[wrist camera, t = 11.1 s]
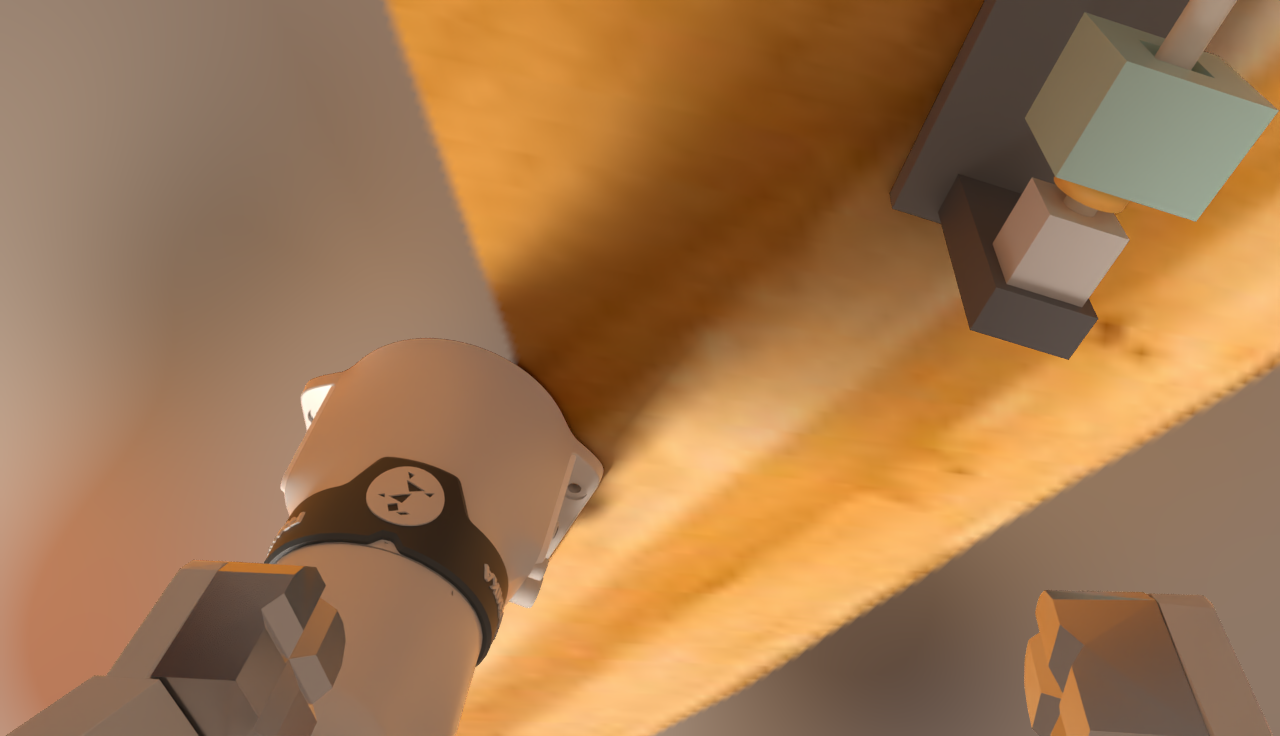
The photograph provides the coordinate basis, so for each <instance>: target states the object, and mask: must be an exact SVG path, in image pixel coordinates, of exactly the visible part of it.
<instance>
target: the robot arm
mask: <svg viewBox="0 0 1280 736" xmlns="http://www.w3.org/2000/svg"><path fill="white" fill-rule="evenodd" d="M301 405H302V410H303V415H304V419H305V424H306V429H307V432H306V434H305V436H304V438H303V440H302V442H301V444H300V445H299V447H298V450H297V451H296V453H295V455H294V457H293V459H292V461H291V463H290V465H289V467H288V468H287V470H286V472H285V474H284V476H283V479H282V482H281V490H282V491H283V492H284V493H285V503H286V507H287V510H288V512H289V515H290V517H289V519H288V520H287V522H286V523H285V524H284V526H283V527H282V528H281V529H280V530H279V532H278V533H277V535H276V537H275V539H274V541H273V542H272V544H271V546H270V548H269V551H268V554H267V559H266V560H265V562H264V564H262V563H246V562H230V561H207V560H192V561H191V562H189V563H188V564H186V565H185V566H183V567H182V568H180V569H179V570H178V572H177V573H176V575H175V576H174V578H173V579H172V580H171V582H170V583H169V585H168V586H167V588H166V589H165V591H164V592H163V593H162V595H161V597H160V598H159V599H158V601H157V602H156V604H155V605H154V607H153V608H152V610H151V611H150V612H149V614H148V615H147V617H146V618H145V620H144V621H143V623H142V624H141V626H140V627H139V628H138V630H137V631H136V633H135V634H134V636H133V637H132V639H131V640H130V641H129V643H128V644H127V646H126V647H125V649H124V650H123V652H122V653H121V655H120V656H119V658H118V659H117V661H116V662H115V664H114V665H113V666H112V668H111V669H110V671H109V672H108V673H107V675H106V676H101V675H100V676H99V675H94V676H93V677H91V678H90V679H88V680H87V681H85V682H84V683H82V684H81V685H80V686H78V687H77V688H75V689H74V690H72V691H71V692H69V693H68V694H66V695H65V696H63V697H62V698H60V699H59V700H57V701H56V702H54V703H53V704H52V705H50V706H49V707H47V708H46V709H44V710H43V711H41V712H40V713H38V714H37V715H35V716H34V717H32V718H31V719H29V720H28V721H27V722H25V723H24V724H22V725H21V726H19V727H18V728H16V729H15V730H13V731H12V732H10V733H9V734H7V735H6V736H456V733H457V729H458V725H459V722H460V718H461V714H462V711H463V707H464V704H465V700H466V697H467V694H468V690H469V687H470V683H471V680H472V677H473V673H474V670H475V667H476V666H478V665H479V664H480V663H481V662H482V660H483V659H484V658H485V656H486V655H487V653H488V650H489V648H490V646H491V644H492V642H493V640H494V639H495V637H496V634H497V632H498V629H499V627H500V624H501V621H502V617H503V613H504V612H503V610H504V607H505V606H506V604H507V603H508V602H512V603H515V604H517V605H520V606H522V607H525V608H528V607H529V608H531V607H532V605H533V604H534V602H535V600H536V598H537V595H538V593H539V590H540V587H541V584H542V581H543V576H544V573H545V571H546V568H547V566H548V562H549V560H548V559H549V557H550V556H551V554H552V553H553V552H554V550H555V549H556V547H557V546H558V544H559V543H560V541H561V540H562V538H563V537H564V536H565V534H566V533H567V531H568V530H569V528H570V527H571V525H572V524H573V522H574V521H575V519H576V518H577V517H578V515H579V514H580V512H581V511H582V509H583V508H584V506H585V505H586V503H587V502H588V500H589V499H590V498H591V496H592V495H593V493H594V492H595V490H596V489H597V487H598V485H599V483H600V481H601V478H602V476H603V472H604V469H603V466H602V464H601V463H600V461H599V460H598V459H597V458H596V457H595V456H594V455H593V454H592V453H591V452H590V451H589V450H588V449H587V448H586V447H585V446H584V445H583V444H581V443H580V442H579V441H578V440H577V439H576V438H575V437H574V435H573V434H572V432H571V431H570V429H569V427H568V425H567V423H566V421H565V419H564V417H563V415H562V413H561V411H560V409H559V407H558V406H557V404H556V403H555V401H554V400H553V398H552V397H551V396H550V395H549V393H548V392H547V391H546V390H545V389H544V388H543V387H542V386H541V385H540V384H539V383H538V382H537V381H536V380H535V379H534V378H533V377H532V376H530V375H529V374H528V373H527V372H525V371H524V370H523V369H521V368H520V367H518V366H517V365H515V364H514V363H512V362H510V361H509V360H507V359H505V358H503V357H501V356H499V355H497V354H495V353H493V352H490V351H488V350H486V349H483V348H480V347H477V346H474V345H471V344H467V343H463V342H458V341H454V340H447V339H436V338H418V339H409V340H403V341H399V342H394V343H391V344H388V345H385V346H383V347H381V348H378V349H376V350H375V351H373V352H371V353H370V354H368V355H367V356H365V357H364V358H363V359H361V360H360V361H359V362H358V363H357V364H355V365H354V366H352V367H351V368H349V369H347V370H345V371H344V372H338V373H333V374H328V375H323V376H319V377H316V378H314V379H312V380H310V381H309V382H308V383H307V384H306V386H305V388H304V390H303V392H302V394H301ZM573 483H575V484H578V485H575V484H573ZM1035 614H1036V619H1037V622H1038V626H1039V631H1040V632H1039V633H1038V634H1036V635H1035V636H1034V637H1032V638H1030V639H1029V640H1028V646H1027V651H1026V656H1025V679H1024V680H1025V681H1024V682H1025V683H1024V685H1025V693H1026V701H1027V707H1028V712H1029V716H1030V721H1031V726H1032V729H1033V730H1034V731H1035V732H1036V733H1037V734H1038V735H1039V736H1273V734H1272V732H1271V730H1270V728H1269V725H1268V723H1267V721H1266V719H1265V717H1264V715H1263V712H1262V710H1261V708H1260V706H1259V704H1258V702H1257V699H1256V697H1255V695H1254V693H1253V691H1252V688H1251V687H1250V684H1249V683H1248V680H1247V678H1246V676H1245V673H1244V671H1243V669H1242V667H1241V665H1240V662H1239V660H1238V658H1237V656H1236V654H1235V652H1234V649H1233V647H1232V645H1231V643H1230V641H1229V638H1228V636H1227V634H1226V632H1225V630H1224V628H1223V626H1222V623H1221V621H1220V619H1219V617H1218V615H1217V613H1216V610H1215V608H1214V606H1213V604H1212V603H1211V602H1210V601H1209V600H1208V599H1207V598H1206V597H1205V596H1203V595H1179V594H1178V595H1177V594H1145V593H1144V592H1108V591H1106V592H1105V591H1104V592H1103V591H1062V590H1059V591H1058V590H1044V592H1043V593H1042V594H1041V596H1040V597H1039V600H1038V603H1037V607H1036V611H1035Z"/></svg>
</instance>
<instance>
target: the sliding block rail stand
mask: <svg viewBox="0 0 1280 736" xmlns="http://www.w3.org/2000/svg"><path fill="white" fill-rule="evenodd" d="M1236 2H1237V0H985V1H984V3H983V5H982V7H981V9H980V11H979V13H978V15H977V17H976V19H975V21H974V23H973V25H972V27H971V30H970V32H969V34H968V36H967V38H966V40H965V42H964V44H963V46H962V48H961V50H960V52H959V54H958V56H957V58H956V60H955V62H954V64H953V66H952V68H951V70H950V72H949V74H948V76H947V78H946V80H945V82H944V84H943V86H942V88H941V90H940V92H939V94H938V96H937V99H936V101H935V103H934V105H933V107H932V109H931V111H930V113H929V115H928V117H927V119H926V121H925V123H924V125H923V127H922V129H921V131H920V133H919V135H918V137H917V139H916V141H915V143H914V145H913V147H912V149H911V151H910V153H909V155H908V157H907V159H906V161H905V163H904V165H903V168H902V170H901V172H900V174H899V176H898V178H897V180H896V182H895V184H894V186H893V188H892V190H891V192H890V199H891V204H892V209H895V210H898V211H902V212H905V213H908V214H911V215H914V216H918V217H921V218H924V219H927V220H931V221H934V222H937V223H940V224H941V225H942V229H943V233H944V236H945V240H946V244H947V247H948V251H949V255H950V258H951V262H952V266H953V269H954V273H955V277H956V280H957V284H958V288H959V291H960V295H961V299H962V302H963V306H964V310H965V313H966V317H967V321H968V324H969V328H970V330H972V331H976V332H979V333H982V334H986V335H989V336H992V337H995V338H999V339H1002V340H1005V341H1009V342H1012V343H1015V344H1018V345H1022V346H1025V347H1028V348H1032V349H1035V350H1038V351H1041V352H1045V353H1048V354H1051V355H1055V356H1058V357H1061V358H1064V359H1068V360H1069V358H1070V357H1071V356H1072V354H1073V353H1074V351H1075V350H1076V349H1077V347H1078V346H1079V345H1080V343H1081V342H1082V340H1083V339H1084V338H1085V336H1086V335H1087V334H1088V332H1089V331H1090V329H1091V328H1092V327H1093V325H1094V324H1095V323H1096V321H1097V320H1098V317H1097V315H1096V313H1095V311H1094V309H1093V307H1092V305H1091V302H1090V300H1089V297H1090V295H1091V294H1092V293H1093V291H1094V290H1095V288H1096V287H1097V286H1098V284H1099V283H1100V281H1101V280H1102V278H1103V277H1104V276H1105V274H1106V273H1107V271H1108V270H1109V269H1110V267H1111V266H1112V264H1113V263H1114V261H1115V260H1116V259H1117V257H1118V256H1119V254H1120V253H1121V251H1122V250H1123V249H1124V247H1125V246H1126V244H1127V243H1128V242H1129V238H1128V236H1127V235H1126V233H1125V231H1124V230H1123V228H1122V226H1121V225H1120V223H1119V221H1118V220H1117V218H1116V216H1115V215H1114V213H1120V212H1122V211H1123V210H1124V208H1125V207H1126V205H1127V204H1128V202H1129V200H1126V199H1123V198H1120V197H1117V196H1114V195H1110V194H1107V193H1104V192H1101V191H1098V190H1095V189H1091V188H1088V187H1085V186H1082V185H1079V184H1076V183H1073V182H1069V181H1066V180H1063V179H1060V178H1057V177H1055V175H1054V173H1053V171H1052V169H1051V167H1050V166H1049V164H1048V162H1047V160H1046V158H1045V156H1044V154H1043V152H1042V150H1041V148H1040V146H1039V145H1038V143H1037V141H1036V139H1035V137H1034V135H1033V133H1032V131H1031V129H1030V127H1029V125H1028V123H1027V122H1026V120H1025V117H1026V115H1027V113H1028V111H1029V110H1030V108H1031V106H1032V104H1033V103H1034V101H1035V99H1036V97H1037V96H1038V94H1039V92H1040V90H1041V88H1042V87H1043V85H1044V83H1045V81H1046V80H1047V78H1048V76H1049V74H1050V73H1051V71H1052V69H1053V67H1054V65H1055V64H1056V62H1057V60H1058V58H1059V57H1060V55H1061V53H1062V51H1063V49H1064V48H1065V46H1066V44H1067V42H1068V41H1069V39H1070V37H1071V35H1072V34H1073V32H1074V30H1075V28H1076V26H1077V25H1078V23H1079V21H1080V19H1081V18H1082V16H1083V14H1084V12H1086V13H1089V14H1092V15H1095V16H1098V17H1101V18H1104V19H1107V20H1110V21H1113V22H1117V23H1120V24H1123V25H1126V26H1129V27H1132V28H1135V29H1138V30H1141V31H1144V32H1147V33H1150V34H1153V35H1156V36H1159V37H1162V38H1165V40H1164V42H1163V43H1162V45H1161V46H1160V48H1159V50H1158V51H1157V53H1156V54H1155V56H1154V57H1155V58H1156V59H1157V60H1160V61H1164V62H1167V63H1170V64H1173V65H1176V66H1179V67H1182V68H1185V69H1188V70H1192V68H1193V67H1194V65H1195V64H1196V62H1197V61H1198V59H1199V58H1200V56H1201V55H1202V53H1203V52H1204V50H1205V49H1206V47H1207V46H1208V44H1209V43H1210V41H1211V40H1212V38H1213V37H1214V35H1215V33H1216V32H1217V30H1218V29H1219V27H1220V26H1221V24H1222V23H1223V21H1224V20H1225V18H1226V17H1227V15H1228V14H1229V12H1230V11H1231V9H1232V8H1233V6H1234V5H1235V3H1236Z"/></svg>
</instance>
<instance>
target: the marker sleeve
mask: <svg viewBox="0 0 1280 736" xmlns="http://www.w3.org/2000/svg"><path fill="white" fill-rule="evenodd" d="M1164 40H1165V38H1162V37H1159V36H1156V35H1153V34H1150V33H1147V32H1144V31H1141V30H1138V29H1135V28H1132V27H1129V26H1126V25H1123V24H1120V23H1117V22H1113V21H1110V20H1107V19H1104V18H1101V17H1098V16H1095V15H1092V14H1089V13H1086V12H1084V14H1083V16H1082V18H1081V19H1080V21H1079V23H1078V25H1077V26H1076V28H1075V30H1074V32H1073V34H1072V35H1071V37H1070V39H1069V41H1068V42H1067V44H1066V46H1065V48H1064V49H1063V51H1062V53H1061V55H1060V57H1059V58H1058V60H1057V62H1056V64H1055V65H1054V67H1053V69H1052V71H1051V73H1050V74H1049V76H1048V78H1047V80H1046V81H1045V83H1044V85H1043V87H1042V88H1041V90H1040V92H1039V94H1038V96H1037V97H1036V99H1035V101H1034V103H1033V104H1032V106H1031V108H1030V110H1029V111H1028V113H1027V115H1026V117H1025V120H1026V122H1027V123H1028V125H1029V127H1030V129H1031V131H1032V133H1033V135H1034V137H1035V139H1036V141H1037V143H1038V145H1039V146H1040V148H1041V150H1042V152H1043V154H1044V156H1045V158H1046V160H1047V162H1048V164H1049V166H1050V167H1051V169H1052V171H1053V173H1054V175H1055V177H1057V178H1060V179H1063V180H1066V181H1069V182H1073V183H1076V184H1079V185H1082V186H1085V187H1088V188H1091V189H1095V190H1098V191H1101V192H1104V193H1107V194H1110V195H1114V196H1117V197H1120V198H1123V199H1126V200H1129V201H1133V202H1136V203H1139V204H1142V205H1145V206H1148V207H1151V208H1155V209H1158V210H1161V211H1164V212H1167V213H1170V214H1174V215H1177V216H1180V217H1183V218H1186V219H1189V220H1192V221H1197V220H1198V218H1199V217H1200V215H1201V214H1202V213H1203V211H1204V210H1205V209H1206V207H1207V206H1208V205H1209V203H1210V202H1211V201H1212V199H1213V198H1214V197H1215V195H1216V194H1217V193H1218V191H1219V190H1220V189H1221V187H1222V186H1223V185H1224V183H1225V182H1226V181H1227V179H1228V178H1229V177H1230V175H1231V174H1232V173H1233V171H1234V170H1235V169H1236V167H1237V166H1238V165H1239V163H1240V162H1241V161H1242V159H1243V158H1244V157H1245V155H1246V154H1247V153H1248V151H1249V150H1250V149H1251V147H1252V146H1253V145H1254V143H1255V142H1256V141H1257V139H1258V138H1259V136H1260V135H1261V134H1262V132H1263V131H1264V130H1265V128H1266V127H1267V126H1268V124H1269V123H1270V122H1271V120H1272V119H1273V118H1274V116H1275V115H1276V114H1277V112H1278V111H1279V110H1277V109H1276V108H1275V107H1274V106H1273V105H1272V104H1271V103H1270V102H1269V101H1268V100H1266V99H1265V98H1264V97H1263V96H1262V95H1261V94H1260V93H1259V92H1258V91H1256V90H1255V89H1254V88H1253V87H1252V86H1251V85H1250V84H1249V83H1248V82H1246V81H1245V80H1244V79H1243V78H1242V77H1241V76H1240V75H1239V74H1238V73H1237V72H1235V71H1234V70H1233V69H1232V68H1231V67H1230V66H1229V65H1228V64H1227V63H1225V62H1224V61H1223V60H1222V59H1221V58H1220V57H1219V56H1217V55H1214V54H1211V53H1208V52H1205V51H1204V52H1203V53H1202V55H1201V56H1200V58H1199V59H1198V61H1197V62H1196V64H1195V65H1194V67H1193V68H1192V70H1188V69H1185V68H1182V67H1179V66H1176V65H1173V64H1170V63H1167V62H1164V61H1160V60H1157V59H1156V58H1155V57H1154V56H1155V54H1156V53H1157V51H1158V50H1159V48H1160V46H1161V45H1162V43H1163V42H1164Z"/></svg>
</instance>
